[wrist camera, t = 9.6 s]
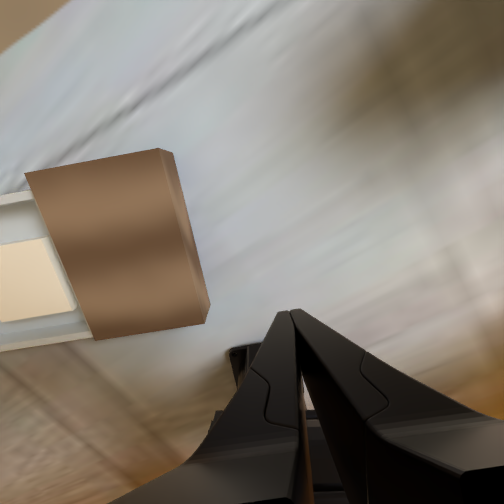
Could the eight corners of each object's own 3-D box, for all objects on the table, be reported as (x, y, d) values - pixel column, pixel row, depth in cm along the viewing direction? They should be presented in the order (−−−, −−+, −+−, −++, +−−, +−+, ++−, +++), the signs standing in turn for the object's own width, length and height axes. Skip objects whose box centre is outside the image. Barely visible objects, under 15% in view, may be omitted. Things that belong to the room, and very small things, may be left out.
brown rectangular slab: (210, 304, 22) (204, 323, 19) (114, 320, 22) (94, 340, 20) (172, 152, 18) (158, 148, 15) (58, 174, 19) (24, 173, 16)
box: (114, 320, 22) (99, 336, 20) (-9, 339, 23) (-37, 357, 21) (63, 187, 19) (38, 188, 17) (-80, 213, 19) (-124, 218, 17)
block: (88, 298, 21) (72, 310, 19) (23, 309, 22) (1, 322, 20) (61, 232, 20) (40, 238, 18) (-9, 245, 20) (-37, 252, 18)
